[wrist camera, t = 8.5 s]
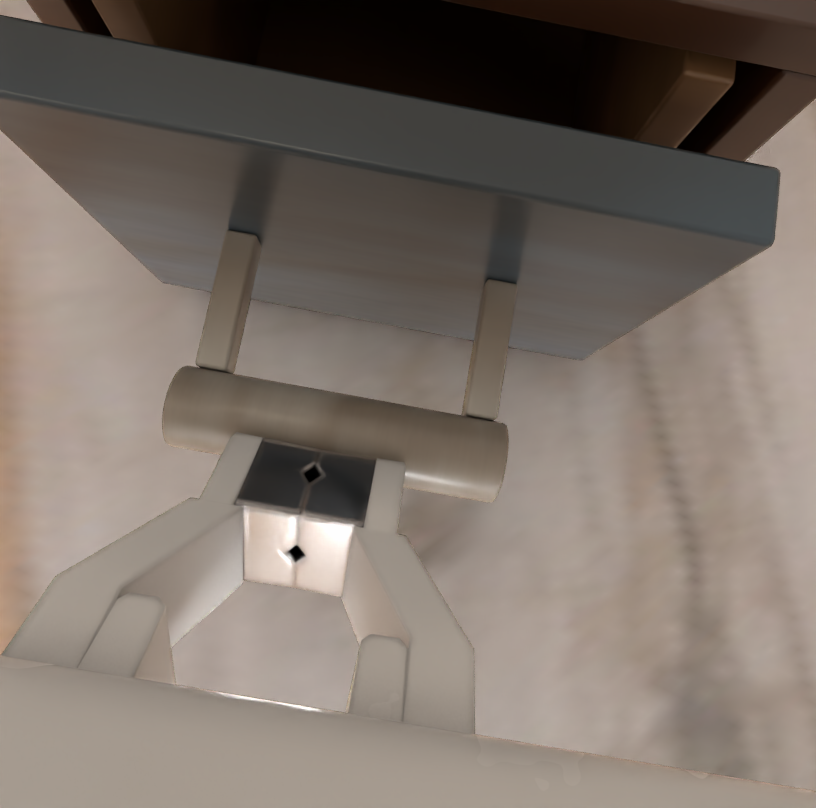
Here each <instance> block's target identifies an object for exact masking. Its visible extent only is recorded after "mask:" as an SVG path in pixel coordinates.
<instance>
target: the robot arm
mask: <svg viewBox="0 0 816 808" xmlns="http://www.w3.org/2000/svg"><path fill="white" fill-rule="evenodd" d="M375 462H376V463H375ZM374 468H375V469H374ZM405 469H406V466H405V463H404V462H399V461H393V460H387V459H380V458H377V460H376V458H372V457H367V456H361V455H355V454H349V453H344V452H338V451H332V450H326V449H320V448H315V447H310V446H305V445H300V444H295V443H290V442H286V441H281V440H276V439H271V438H266V437H265V438H262V437H258V436H253V435H248V434H244V433H239V432H236V433H235V434H234V435H232V436H231V437H230V439H229V441H228V443H227V445H226V447H225V449H224V451H223V453H222V455H221V457H220V459H219V461H218V463H217V465H216V467H215V469H214V471H213V473H212V475H211V477H210V478H209V480H208V482H207V484H206V486H205V488H204V490H203V492H202V494H201V496H200V498H199V499H197V498H189V499H187V500H185V501H183V502H182V503H180V504H178V505H177V506H175V507H173V508H171V509H170V510H168V511H166V512H165V513H163V514H161V515H159V516H158V517H156V518H154V519H153V520H151V521H149V522H147V523H146V524H144V525H142V526H141V527H139V528H137V529H135V530H134V531H132V532H130V533H129V534H127V535H125V536H123V537H122V538H120V539H118V540H117V541H115V542H113V543H111V544H110V545H108V546H106V547H105V548H103V549H101V550H99V551H98V552H96V553H94V554H93V555H91V556H89V557H87V558H86V559H84V560H82V561H81V562H79V563H77V564H75V565H74V566H72V567H70V568H69V569H67V570H65V571H63V572H62V573H60V574H58V575H57V576H55V577H54V579H53V580H52V582H51V583H50V585H49V586H48V587H47V589H46V590H45V592H44V593H43V595H42V596H41V598H40V599H39V601H38V602H37V604H36V605H35V606H34V608H33V609H32V611H31V612H30V614H29V615H28V617H27V618H26V620H25V621H24V623H23V624H22V625H21V627H20V628H19V630H18V631H17V633H16V634H15V636H14V637H13V639H12V640H11V642H10V643H9V644H8V646H7V647H6V649H5V650H4V652H3V653H2V655H0V808H816V791H813V790H807V789H801V788H795V787H789V786H783V785H777V784H771V783H765V782H759V781H753V780H747V779H741V778H735V777H729V776H723V775H717V774H711V773H705V772H699V771H693V770H687V769H681V768H675V767H669V766H662V765H656V764H650V763H644V762H638V761H632V760H626V759H620V758H614V757H608V756H602V755H596V754H590V753H584V752H578V751H572V750H566V749H560V748H554V747H548V746H542V745H536V744H530V743H524V742H518V741H512V740H506V739H500V738H494V737H488V736H482V735H476V734H475V688H474V648H473V646H472V645H471V643H470V641H469V640H468V638H467V636H466V635H465V633H464V632H463V630H462V628H461V627H460V625H459V623H458V622H457V620H456V618H455V617H454V615H453V613H452V612H451V610H450V608H449V607H448V605H447V603H446V602H445V600H444V598H443V597H442V595H441V593H440V592H439V590H438V588H437V587H436V585H435V583H434V582H433V580H432V578H431V577H430V575H429V573H428V572H427V570H426V568H425V567H424V565H423V563H422V562H421V560H420V558H419V557H418V555H417V553H416V552H415V550H414V548H413V547H412V545H411V543H410V542H409V540H408V538H407V537H406V536H405V535H400V534H397V533H398V525H399V517H400V509H401V501H402V493H403V485H404V477H405ZM372 479H373V480H372ZM370 490H371V491H370ZM243 580H244V581H251V582H258V583H265V584H272V585H279V586H285V587H292V588H297V589H302V590H307V591H312V592H317V593H322V594H327V595H332V596H337V597H342V602H343V605H344V607H345V610H346V613H347V615H348V618H349V621H350V623H351V626H352V628H353V631H354V634H355V636H356V639H357V642H358V644H359V652H358V657H357V661H356V666H355V670H354V675H353V679H352V684H351V688H350V693H349V698H348V702H347V707H346V711H345V713H344V712H338V711H332V710H326V709H320V708H314V707H308V706H302V705H296V704H290V703H284V702H278V701H272V700H266V699H260V698H254V697H248V696H242V695H236V694H229V693H223V692H217V691H211V690H205V689H199V688H193V687H187V686H181V685H176V680H175V673H174V666H173V658H172V651H171V647H173V646H174V645H175V644H176V643H177V642H178V641H179V640H180V639H182V638H183V637H184V636H185V635H186V634H187V633H188V632H189V631H190V630H192V629H193V628H194V627H195V626H196V625H197V624H198V623H199V622H200V621H202V620H203V619H204V618H205V617H206V616H207V615H208V614H209V613H211V612H212V611H213V610H214V609H215V608H216V607H217V606H218V605H219V604H221V603H222V602H223V601H224V600H225V599H226V598H227V597H228V596H230V595H231V594H232V593H233V592H234V591H235V590H236V589H237V588H238V587H240V586H241V585H242V584H243Z"/></svg>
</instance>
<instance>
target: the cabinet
mask: <svg viewBox="0 0 816 808" xmlns="http://www.w3.org/2000/svg"><path fill="white" fill-rule="evenodd" d="M26 1H27V2H28V3H29V5H30V6H31V8H32V9H33V10H34V12H35V13H36V15H37V16H38V17H39V19H40V20H41V21H42V23H44V24H49V25H54V26H59V27H64V28H69V29H74V30H79V31H84V32H89V33H95V34H100V35H105V36H110V37H113V36H112V34H111V33H110V31H109V29H108V27H107V26H106V24H105V22H104V21H103V19H102V17H101V16H100V14H99V12H98V10H97V9H96V7H95V5H94V4H93V2H92V0H26ZM442 1H447V2H452V3H457V4H462V5H466V6H471V7H476V8H481V9H486V10H491V11H496V12H501V13H506V14H511V15H516V16H521V17H526V18H531V19H536V20H541V21H546V22H551V23H555V24H560V25H565V26H570V27H575V28H580V29H585V30H590V31H595V32H600V33H605V34H610V35H615V36H620V37H625V38H630V39H635V40H640V41H644V42H649V43H654V44H659V45H664V46H669V47H674V48H679V49H684V50H689V51H694V52H699V53H704V54H709V55H714V56H719V57H724V58H729V59H733V60H736V70H735V79H734V83H733V84H732V86H731V87H730V88H729V89H728V90H727V92H726V93H725V94H724V95H723V96H722V97H721V98H720V99H719V101H718V102H717V103H716V104H715V105H714V106H713V107H712V108H711V110H710V111H709V112H708V113H707V114H706V115H705V116H704V117H703V119H702V120H701V121H700V122H699V123H698V124H697V125H696V126H695V127H694V129H693V130H692V131H691V132H690V133H689V134H688V135H687V136H686V138H685V139H684V140H683V141H682V142H681V143H680V144H679V145H678V147H677V148H678V149H683V150H688V151H693V152H698V153H703V154H708V155H713V156H718V157H723V158H728V159H733V160H739V161H745V160H746V159H747V158H748V157H749V156H751V155H752V154H753V153H754V152H755V151H756V150H757V149H759V148H760V147H761V146H762V145H763V144H764V143H765V142H767V141H768V140H769V139H770V138H771V137H772V136H773V135H775V134H776V133H777V132H778V131H779V130H780V129H781V128H783V127H784V126H785V125H786V124H787V123H788V122H789V121H790V120H792V119H793V118H794V117H795V116H796V115H797V114H798V113H800V112H801V111H802V110H803V109H804V108H805V107H806V106H808V105H809V104H810V103H811V102H812V101H813V100H814V99H816V0H442Z"/></svg>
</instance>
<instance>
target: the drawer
mask: <svg viewBox="0 0 816 808" xmlns="http://www.w3.org/2000/svg"><path fill="white" fill-rule="evenodd" d="M92 2H93V4H94V5H95V7H96V9H97V10H98V12H99V14H100V16H101V17H102V19H103V21H104V22H105V24H106V26H107V27H108V29H109V31H110V33H111V34H112V36H113V37H110V36H105V35H100V34H95V33H89V32H84V31H79V30H74V29H69V28H64V27H59V26H54V25H49V24H44V23H39V22H34V21H29V20H24V19H18V18H13V17H8V16H3V15H0V130H1V131H2V132H3V133H4V134H5V135H6V136H7V137H9V138H10V139H11V140H12V141H13V142H14V143H15V144H16V145H17V146H18V147H19V148H20V149H21V150H22V151H23V152H24V153H25V154H27V155H28V156H29V157H30V158H31V159H32V160H33V161H34V162H35V163H36V164H37V165H38V166H39V167H40V168H41V169H42V170H43V171H45V172H46V173H47V174H48V175H49V176H50V177H51V178H52V179H53V180H54V181H55V182H56V183H57V184H58V185H59V186H60V187H61V188H63V189H64V190H65V191H66V192H67V193H68V194H69V195H70V196H71V197H72V198H73V199H74V200H75V201H76V202H77V203H78V204H79V205H81V206H82V207H83V208H84V209H85V210H86V211H87V212H88V213H89V214H90V215H91V216H92V217H93V218H94V219H95V220H96V221H97V222H99V223H100V224H101V225H102V226H103V227H104V228H105V229H106V230H107V231H108V232H109V233H110V234H111V235H112V236H113V237H114V238H115V239H117V240H118V241H119V242H120V243H121V244H122V245H123V246H124V247H125V248H126V249H127V250H128V251H129V252H130V253H131V254H132V255H133V256H134V257H136V258H137V259H138V260H139V261H140V262H141V263H142V264H143V265H144V266H145V267H146V268H147V269H148V270H149V271H150V272H151V273H152V274H154V275H155V276H156V277H157V278H158V279H159V280H160V281H161V282H163V283H166V284H171V285H177V286H182V287H188V288H193V289H198V290H204V291H209V292H212V293H211V297H210V302H209V306H208V310H207V315H206V319H205V323H204V327H203V332H202V336H201V340H200V345H199V349H198V353H197V358H196V365H197V366H199V367H200V368H198V367H192V366H185V367H182V368H181V369H180V370H178V372H177V373H176V374H175V376H174V378H173V380H172V382H171V384H170V386H169V389H168V392H167V395H166V399H165V403H164V408H163V417H162V429H163V436H164V439H165V441H166V443H167V444H169V445H170V446H173V447H178V448H184V449H190V450H195V451H201V452H207V453H212V454H218V455H222V453H223V451H224V449H225V447H226V445H227V443H228V441H229V439H230V437H231V436H232V435H234V434H235V433H236V432H239V433H244V434H248V435H253V436H258V437H262V438H265V437H266V438H271V439H276V440H281V441H286V442H290V443H295V444H300V445H305V446H310V447H315V448H320V449H326V450H332V451H338V452H344V453H349V454H355V455H361V456H367V457H372V458H376V460H377V458H380V459H387V460H393V461H399V462H404V463H405V466H406V469H405V477H404V485H403V487H404V488H409V489H415V490H421V491H426V492H432V493H437V494H443V495H449V496H454V497H460V498H466V499H471V500H477V501H482V502H488V503H490V502H493V501H494V500H495V499H496V497H497V495H498V493H499V491H500V488H501V485H502V482H503V478H504V474H505V469H506V463H507V456H508V430H507V426H506V425H505V424H504V423H500V422H495V421H494V420H495V419H496V418H497V416H498V409H499V403H500V396H501V390H502V383H503V377H504V371H505V364H506V358H507V351H508V347H511V348H516V349H522V350H527V351H532V352H538V353H543V354H549V355H554V356H559V357H565V358H570V359H575V360H583V359H585V358H587V357H588V356H590V355H592V354H593V353H595V352H597V351H598V350H600V349H602V348H603V347H605V346H607V345H608V344H610V343H612V342H613V341H615V340H616V339H618V338H620V337H621V336H623V335H625V334H626V333H628V332H630V331H631V330H633V329H635V328H636V327H638V326H640V325H641V324H643V323H645V322H646V321H648V320H650V319H651V318H653V317H655V316H656V315H658V314H660V313H661V312H663V311H665V310H666V309H668V308H670V307H671V306H673V305H674V304H676V303H678V302H679V301H681V300H683V299H684V298H686V297H688V296H689V295H691V294H693V293H694V292H696V291H698V290H699V289H701V288H703V287H704V286H706V285H708V284H709V283H711V282H713V281H714V280H716V279H718V278H719V277H721V276H723V275H724V274H726V273H727V272H729V271H731V270H732V269H734V268H736V267H737V266H739V265H741V264H742V263H744V262H746V261H747V260H749V259H751V258H752V257H754V256H756V255H757V254H759V253H761V252H762V251H764V250H766V249H767V248H769V247H771V245H772V244H773V242H774V240H775V229H776V218H777V207H778V196H779V185H780V174H781V173H780V170H779V169H777V168H774V167H769V166H764V165H759V164H754V163H749V162H744V161H739V160H733V159H728V158H723V157H718V156H713V155H708V154H703V153H698V152H693V151H688V150H683V149H678V148H677V147H678V145H679V144H680V143H681V142H682V141H683V140H684V139H685V138H686V136H687V135H688V134H689V133H690V132H691V131H692V130H693V129H694V127H695V126H696V125H697V124H698V123H699V122H700V121H701V120H702V119H703V117H704V116H705V115H706V114H707V113H708V112H709V111H710V110H711V108H712V107H713V106H714V105H715V104H716V103H717V102H718V101H719V99H720V98H721V97H722V96H723V95H724V94H725V93H726V92H727V90H728V89H729V88H730V87H731V86H732V84H733V83H734V79H735V70H736V60H733V59H729V58H724V57H719V56H714V55H709V54H704V53H699V52H694V51H689V50H684V49H679V48H674V47H669V46H664V45H659V44H654V43H649V42H644V41H640V40H635V39H630V38H625V37H620V36H615V35H610V34H605V33H600V32H595V31H590V30H585V29H580V28H575V27H570V26H565V25H560V24H555V23H551V22H546V21H541V20H536V19H531V18H526V17H521V16H516V15H511V14H506V13H501V12H496V11H491V10H486V9H481V8H476V7H471V6H466V5H462V4H457V3H452V2H447V1H442V0H92ZM250 299H252V300H258V301H263V302H268V303H274V304H279V305H285V306H290V307H295V308H301V309H306V310H311V311H317V312H322V313H328V314H333V315H338V316H344V317H349V318H355V319H360V320H365V321H371V322H376V323H382V324H387V325H392V326H398V327H403V328H408V329H414V330H419V331H425V332H430V333H435V334H441V335H446V336H452V337H457V338H462V339H468V340H473V341H474V342H473V348H472V354H471V361H470V367H469V373H468V379H467V385H466V391H465V397H464V403H463V409H462V415H456V414H451V413H445V412H440V411H434V410H429V409H423V408H418V407H412V406H407V405H401V404H396V403H390V402H385V401H379V400H374V399H368V398H363V397H357V396H352V395H346V394H341V393H335V392H330V391H324V390H319V389H313V388H308V387H302V386H297V385H291V384H286V383H280V382H275V381H269V380H264V379H258V378H253V377H247V376H242V375H236V374H233V373H234V371H235V366H236V362H237V357H238V353H239V348H240V344H241V339H242V335H243V330H244V326H245V321H246V317H247V312H248V308H249V303H250ZM375 463H376V462H375ZM374 469H375V468H374ZM372 480H373V479H372Z"/></svg>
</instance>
